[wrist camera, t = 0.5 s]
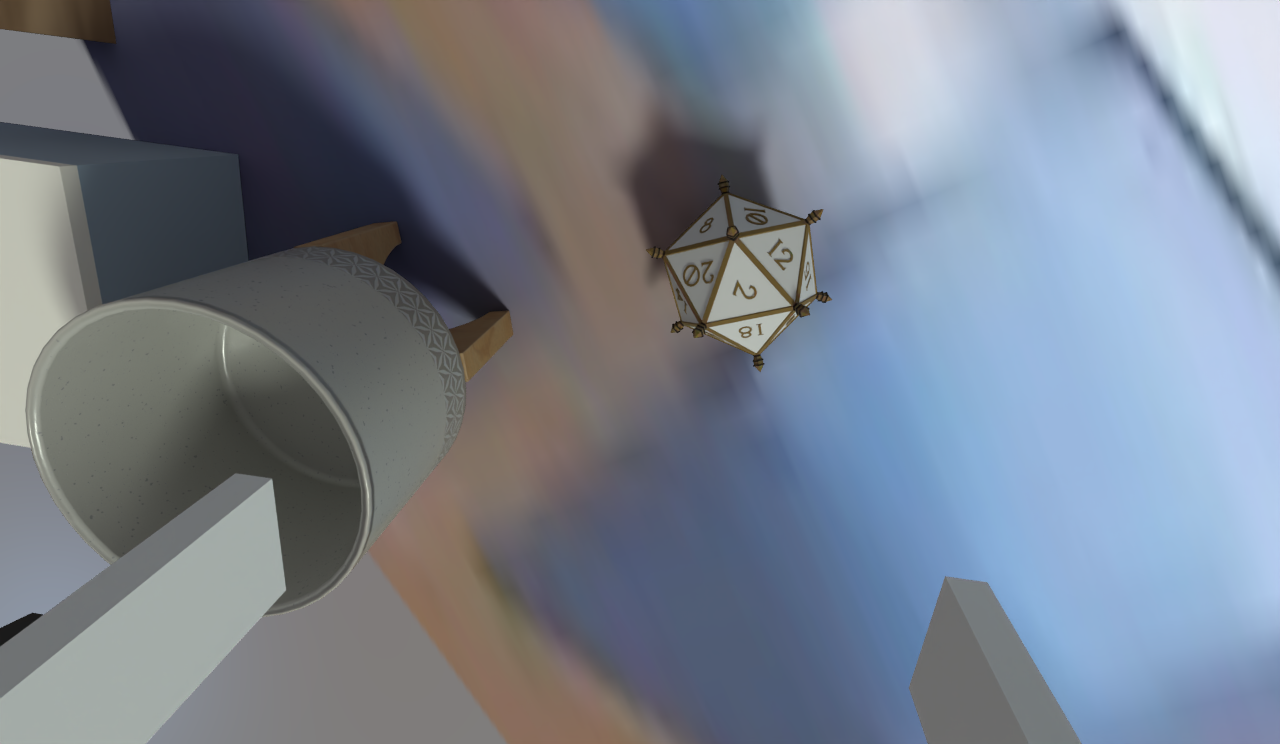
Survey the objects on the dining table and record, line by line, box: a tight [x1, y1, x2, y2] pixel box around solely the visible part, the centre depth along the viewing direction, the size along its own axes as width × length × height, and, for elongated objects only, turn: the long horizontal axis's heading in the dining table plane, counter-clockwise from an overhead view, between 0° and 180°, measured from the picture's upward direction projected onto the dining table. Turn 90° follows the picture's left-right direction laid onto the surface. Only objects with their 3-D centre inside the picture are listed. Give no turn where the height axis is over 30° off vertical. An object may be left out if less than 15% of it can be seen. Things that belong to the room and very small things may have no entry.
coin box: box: [0, 122, 248, 448], centre depth 35 cm, size 14×16×11 cm
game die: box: [646, 175, 832, 372], centre depth 33 cm, size 9×8×10 cm
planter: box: [25, 221, 513, 617], centre depth 32 cm, size 13×13×18 cm
